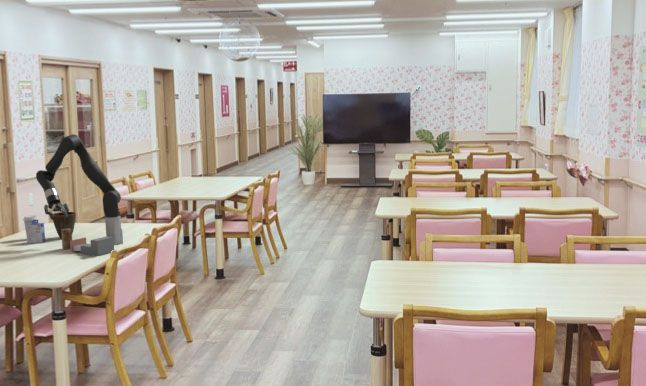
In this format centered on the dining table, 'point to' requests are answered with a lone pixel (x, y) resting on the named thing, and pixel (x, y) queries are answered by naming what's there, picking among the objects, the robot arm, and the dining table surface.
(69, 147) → the robot arm
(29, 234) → the ink cartridge box
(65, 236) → the walnut block
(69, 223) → the plant pot
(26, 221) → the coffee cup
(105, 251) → the block
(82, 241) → the dock tray
